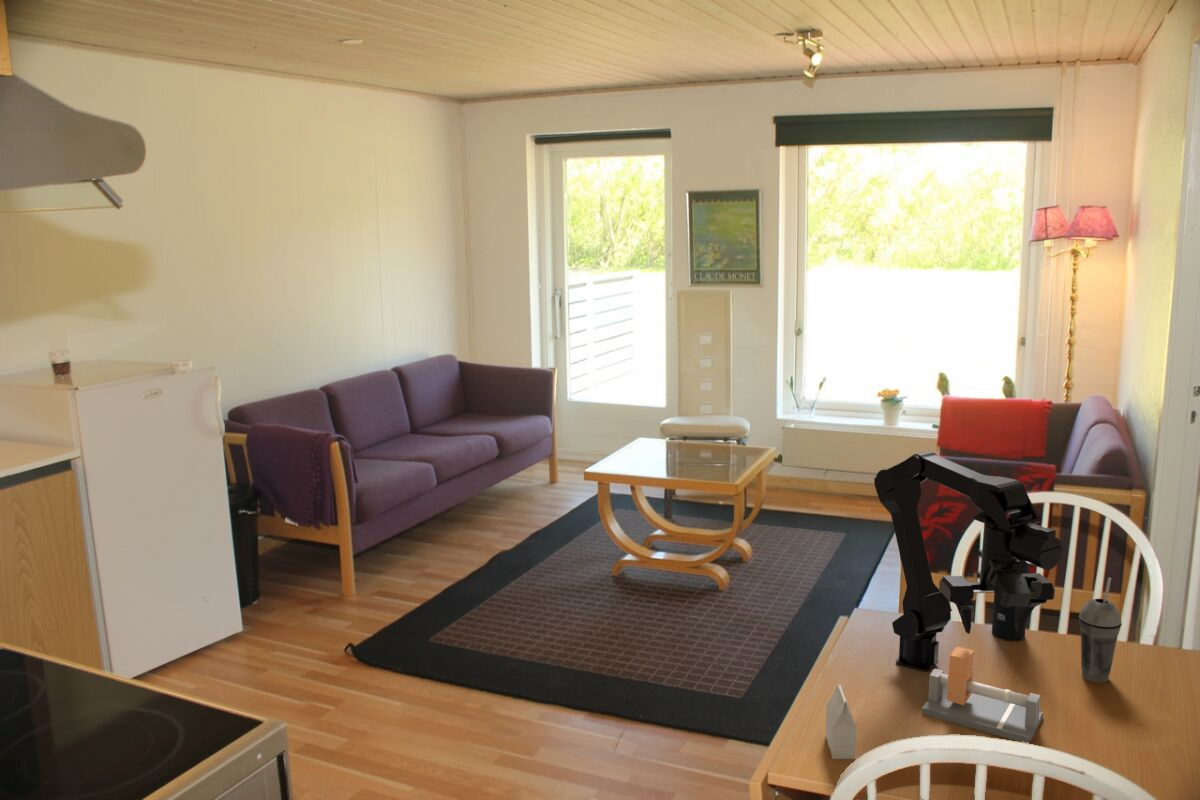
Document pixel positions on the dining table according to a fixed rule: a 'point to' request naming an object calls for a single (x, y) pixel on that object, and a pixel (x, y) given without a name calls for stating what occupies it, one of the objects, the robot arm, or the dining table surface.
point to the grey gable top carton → (840, 727)
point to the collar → (959, 675)
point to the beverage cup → (1098, 637)
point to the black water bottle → (1007, 613)
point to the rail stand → (985, 708)
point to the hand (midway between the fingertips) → (992, 631)
